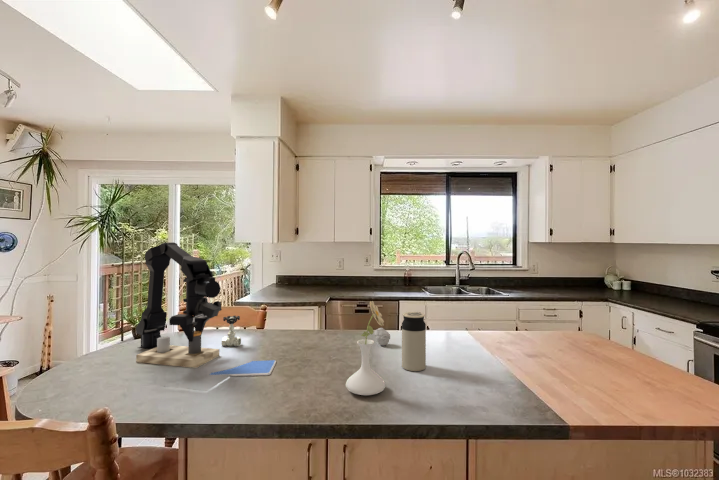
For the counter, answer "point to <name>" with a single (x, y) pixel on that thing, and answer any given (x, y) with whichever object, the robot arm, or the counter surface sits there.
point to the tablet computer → (250, 369)
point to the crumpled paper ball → (382, 336)
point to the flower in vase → (367, 364)
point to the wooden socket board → (178, 356)
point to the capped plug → (195, 343)
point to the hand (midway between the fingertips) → (194, 339)
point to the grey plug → (163, 344)
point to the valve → (231, 333)
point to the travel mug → (413, 341)
